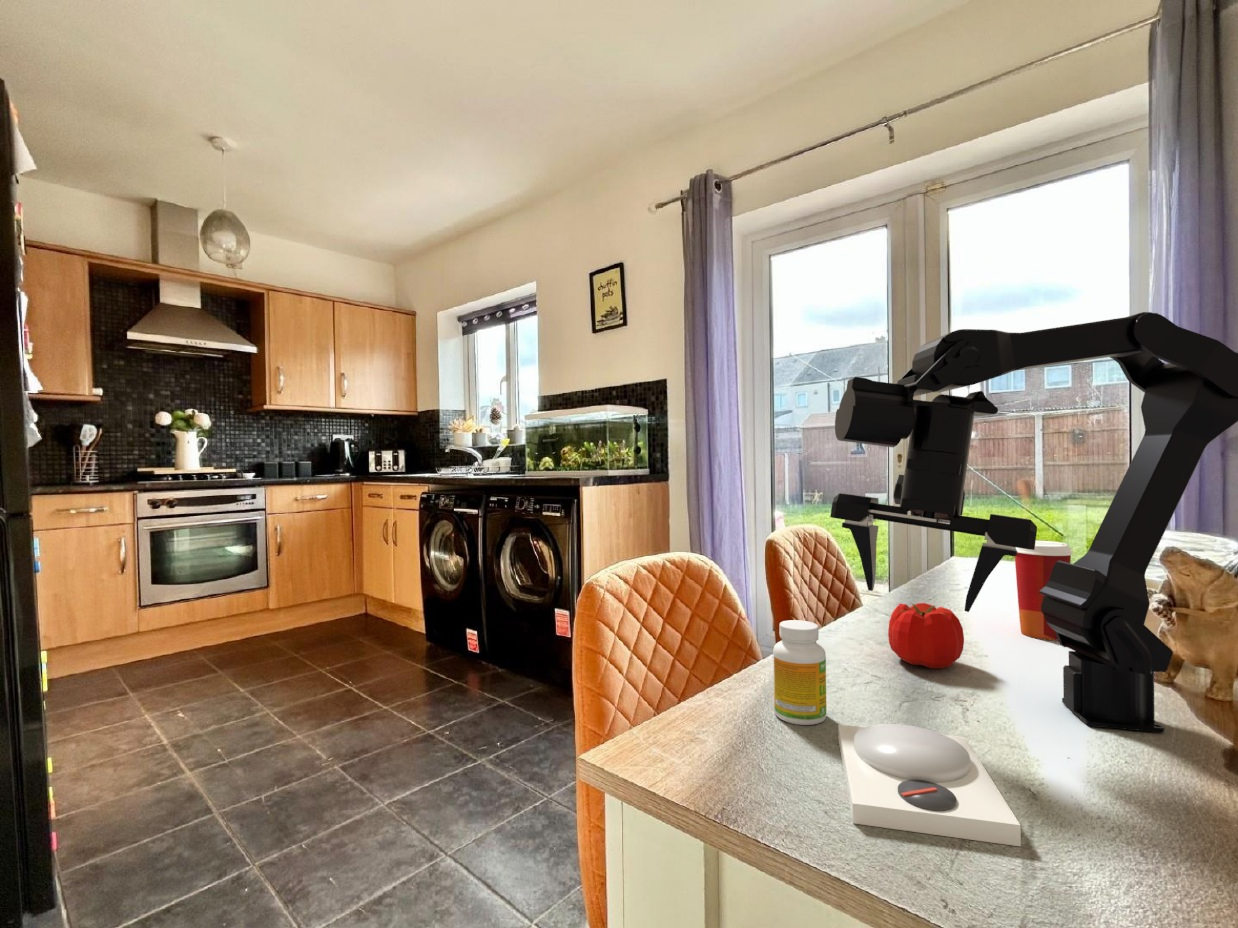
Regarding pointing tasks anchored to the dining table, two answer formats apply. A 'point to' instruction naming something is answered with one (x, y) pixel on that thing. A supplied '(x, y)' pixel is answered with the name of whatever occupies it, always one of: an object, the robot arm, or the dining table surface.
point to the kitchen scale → (922, 784)
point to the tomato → (926, 635)
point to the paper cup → (1037, 584)
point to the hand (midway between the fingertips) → (916, 600)
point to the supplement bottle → (799, 674)
